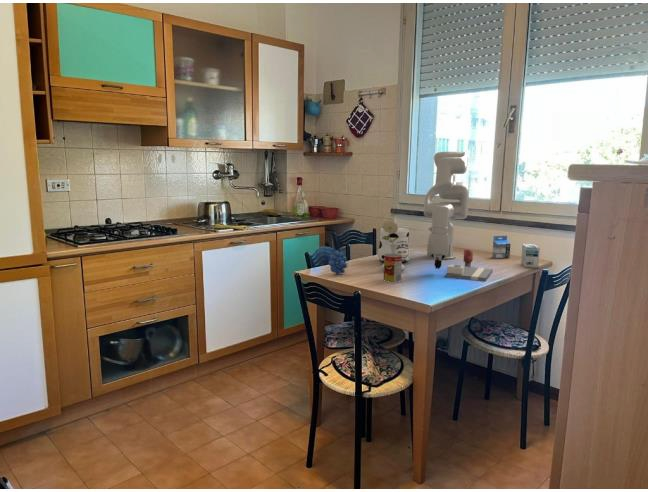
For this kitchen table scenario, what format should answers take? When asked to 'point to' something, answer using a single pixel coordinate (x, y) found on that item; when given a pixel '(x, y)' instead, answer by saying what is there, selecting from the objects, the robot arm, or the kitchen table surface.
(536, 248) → the light bulb box
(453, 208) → the robot arm
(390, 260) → the canned food
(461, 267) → the block
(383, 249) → the milk container
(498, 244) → the label tape cartridge
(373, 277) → the kitchen table surface
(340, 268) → the grapes
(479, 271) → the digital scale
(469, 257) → the reddish rounded cylinder
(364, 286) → the kitchen table surface
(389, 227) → the flower in vase
